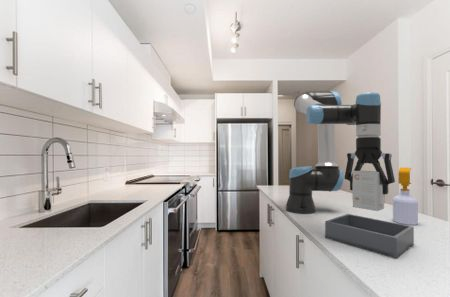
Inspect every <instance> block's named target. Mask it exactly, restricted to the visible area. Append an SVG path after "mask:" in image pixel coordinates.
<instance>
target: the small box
mask: <svg viewBox="0 0 450 297" xmlns="http://www.w3.org/2000/svg"><path fill="white" fill-rule="evenodd" d="M352 173H353V190H352V208H356V209H361V210H369V211H373V212H374V211H375V212H378V211H382V210H384V209H385V204H380V184H382V182H381V180H380V176H379V172H376V170H362V169H361V170H360V171H354V170H352Z"/></svg>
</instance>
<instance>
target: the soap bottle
mask: <svg viewBox="0 0 450 297" xmlns="http://www.w3.org/2000/svg"><path fill="white" fill-rule="evenodd" d="M411 170H412V168H411V167H403V166H400V167H399V169H398V184H399V185H400V186H401V187H402V188H400V193H399V194H398V195H396V196H393V198H392V221H393V222H394V223H397V224H403V225H408V226H415V225H418V223H419V202H418V200H417V198H416V197H414V196H412V194H410V193H411V190H410V189H409V188H408V187H409V186H410V185H411V184H412V182H411Z"/></svg>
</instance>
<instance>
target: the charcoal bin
mask: <svg viewBox="0 0 450 297" xmlns="http://www.w3.org/2000/svg"><path fill="white" fill-rule="evenodd" d="M414 229H415V226H414V225H406V224H400V223H397V222H392V221H386V220H381V219H378V218H377V219H375V218H372V217H365V216H361V215H356V214H350V213H345V214H342V215H340V216H337V217H334V218H330V219H327V220H326V221H325V222H324V237H325V239H328V240H332V241H335V242H339V243H340V244H341V243H342V244H345V245H347V246H348V245H349V246H351V247H355V248H358V249H362V250H366V251H370V252H373V253H376V254H380V255H382V256H386V257H390V258H393V259H398V258H399V257H401V255H403V254H404V253H405V252H406V251H408V250H409V249H410V248H411V247H413V246H414V244H415V242H414V241H415V239H414V238H415V234H414V233H415V230H414Z"/></svg>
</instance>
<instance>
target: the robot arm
mask: <svg viewBox="0 0 450 297" xmlns="http://www.w3.org/2000/svg"><path fill="white" fill-rule="evenodd" d="M381 106H382V102H381V95H380V94H379V93H378V92H371V91H369V92H363V93H359V94H358V95H356V98H355V104H342V98H341V95H340V94H339V92H337V91H334V90H333V91H332V90H326V91H325V90H323V91H322V90H320V91H318V90H315V91H312V90H310V91H304V92H302V93H300V94H298V95H297V96H296V97H295V98H294V101H293V107H294V109H295V110H296V111H297V112H298V113H300V114H304V115H305V118H306V122H307V123H308V124H312V125H317V163H316V164H315V165H314V166H315V168H313V167H312V166H310V165H307V166H306V165H305V166H297V167H293V168H291V169H290V170H289V176H288V178H289V193H288V194H289V195H288V199H287V201H286V204H285V209H286V211H288V212H290V213H296V214H313V213H316V205H315V202H314V199H313V192H338V191H340V189H341V188H342V187H343V183H344V179H345V180H347V181H349V190H350V191H353V171H360V170H361V171H362V168H363V166H364V165H365V164H369V165H370V164H371V165H372V166H373V168H374V169H375V171H376V172H379V176H380V180H381V182H382V184H380V204H384V205H385V204H386V195H388V194H389V185H390V184H394V183H395V182H396V180H395V175H394V170H393V164H392V161H391V160H392V155H393V154H392V153H390V152H389V153H385V152H382V148H381V147H382V142H381V141H382V140H381V138H380V137H381V135H382V133H381V132H382V131H381V130H382V129H381V128H382V127H381V121H382V120H381V119H382V118H381V116H382V115H381V112H382V111H381V110H382V108H381ZM336 125H347V126H355V127H356V128H355V133H356V134H355V136H356V139H355V149H356V150H355V152H352V153H351V152H350V153H349V152H348V153H346V157H347V162H346V163H347V164H346V167H345V173H344V172H343V170H342V169H340V168H339V167H340V166H339V165H338V164H337V162H336V137H335V136H336V133H335V130H336V129H335V128H336V127H335V126H336ZM381 157H382V159H383V163H384V167H385V172H384V169H383V168H382V166H381V163H380V161H379V159H380V158H381ZM355 158H357V161H356V164H355V167H354V162H355ZM353 167H354V170H353ZM385 173H386V174H385Z"/></svg>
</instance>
